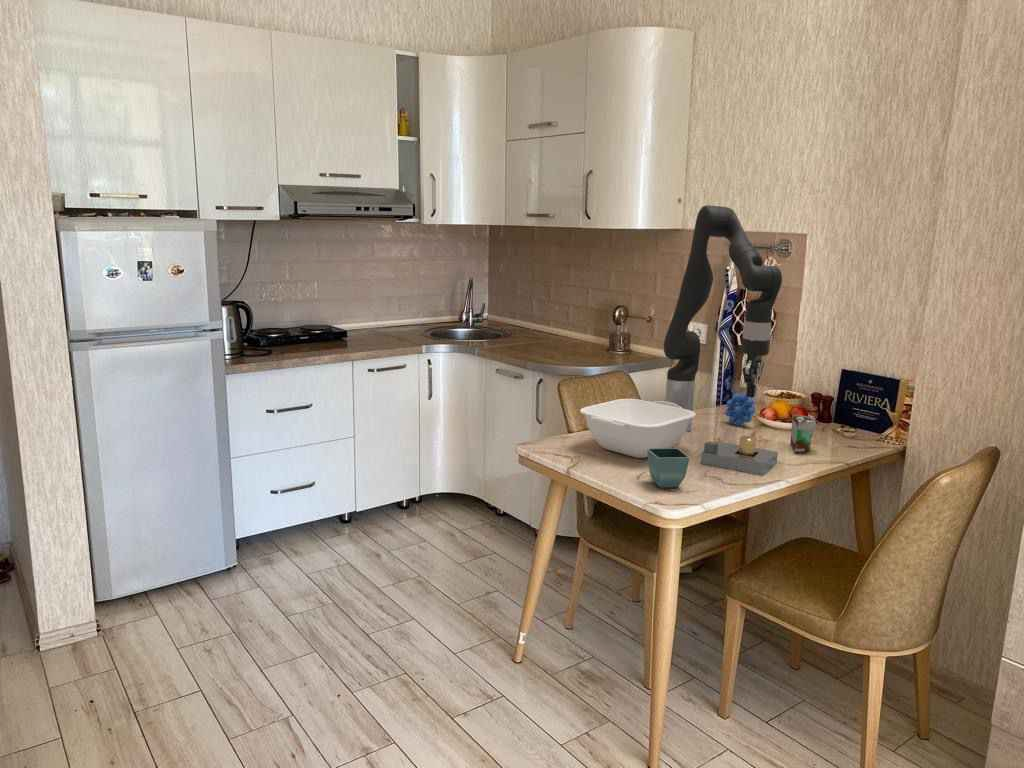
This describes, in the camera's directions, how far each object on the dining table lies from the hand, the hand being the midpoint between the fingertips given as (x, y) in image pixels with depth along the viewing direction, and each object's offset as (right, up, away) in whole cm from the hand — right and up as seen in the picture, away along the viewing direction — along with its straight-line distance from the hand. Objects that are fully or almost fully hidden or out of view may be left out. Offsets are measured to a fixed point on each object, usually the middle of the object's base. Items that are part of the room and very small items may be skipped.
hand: (750, 396), depth 223 cm
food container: (+22, -17, +19) cm, 34 cm away
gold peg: (-1, -20, +3) cm, 20 cm away
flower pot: (-28, -23, -16) cm, 40 cm away
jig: (-2, -19, +4) cm, 20 cm away
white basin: (-31, -17, +15) cm, 38 cm away
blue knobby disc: (+11, -11, +47) cm, 49 cm away
